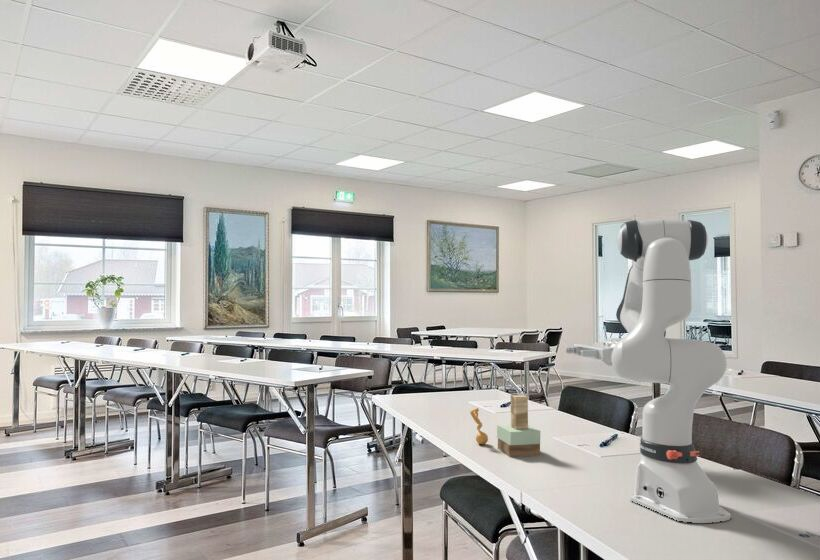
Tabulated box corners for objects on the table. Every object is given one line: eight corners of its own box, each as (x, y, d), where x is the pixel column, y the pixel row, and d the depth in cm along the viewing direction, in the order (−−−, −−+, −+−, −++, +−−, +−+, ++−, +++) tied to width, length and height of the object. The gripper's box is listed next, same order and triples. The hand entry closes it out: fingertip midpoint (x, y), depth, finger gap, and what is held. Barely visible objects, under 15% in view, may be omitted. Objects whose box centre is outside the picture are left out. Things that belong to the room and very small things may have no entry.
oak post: (528, 428, 185) (527, 396, 185) (516, 429, 184) (515, 396, 185) (522, 426, 189) (522, 394, 189) (511, 426, 188) (510, 394, 188)
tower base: (539, 457, 183) (540, 444, 183) (509, 458, 181) (509, 445, 181) (526, 449, 192) (527, 436, 193) (497, 449, 190) (497, 437, 190)
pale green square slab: (540, 443, 183) (540, 430, 183) (510, 445, 181) (510, 432, 181) (525, 436, 193) (525, 423, 193) (497, 437, 190) (497, 425, 190)
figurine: (491, 447, 191) (491, 410, 192) (472, 447, 190) (473, 410, 191) (484, 441, 199) (485, 405, 200) (466, 441, 199) (467, 405, 199)
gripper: (596, 339, 199) (558, 339, 196) (632, 344, 179) (590, 344, 176) (596, 358, 199) (558, 358, 196) (631, 365, 179) (589, 365, 176)
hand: (573, 351), depth 186 cm, fingers open, 8 cm apart
